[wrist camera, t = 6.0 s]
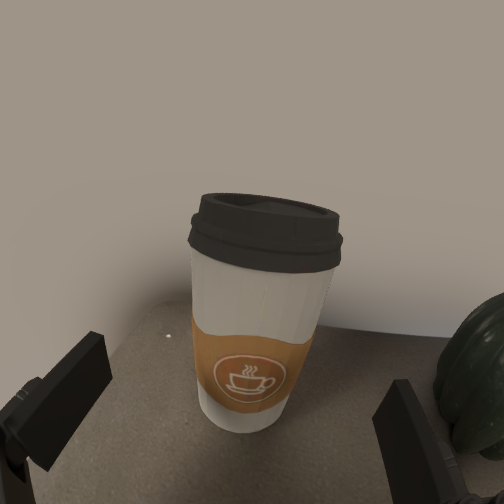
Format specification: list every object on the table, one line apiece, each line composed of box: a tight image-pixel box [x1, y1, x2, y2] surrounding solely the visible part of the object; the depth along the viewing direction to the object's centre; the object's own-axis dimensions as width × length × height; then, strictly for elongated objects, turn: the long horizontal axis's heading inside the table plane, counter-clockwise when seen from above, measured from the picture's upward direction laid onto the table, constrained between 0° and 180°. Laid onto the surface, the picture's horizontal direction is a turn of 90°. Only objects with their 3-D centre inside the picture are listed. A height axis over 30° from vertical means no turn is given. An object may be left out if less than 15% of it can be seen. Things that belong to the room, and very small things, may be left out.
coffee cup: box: [188, 193, 343, 433], centre depth 17 cm, size 8×8×15 cm
